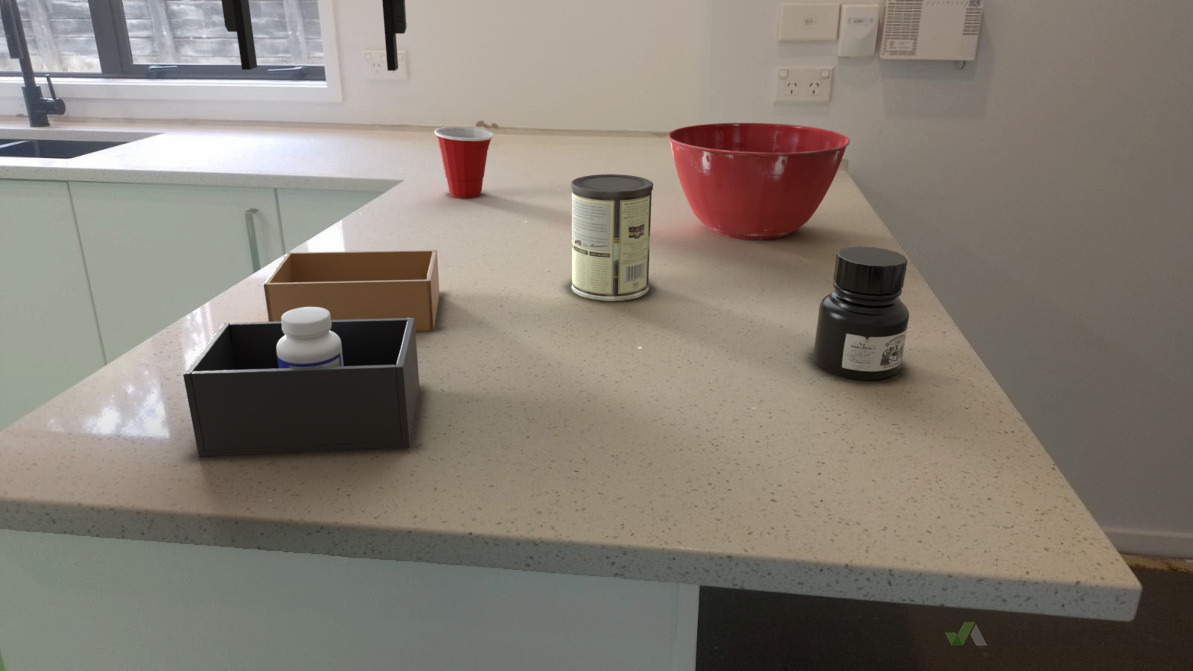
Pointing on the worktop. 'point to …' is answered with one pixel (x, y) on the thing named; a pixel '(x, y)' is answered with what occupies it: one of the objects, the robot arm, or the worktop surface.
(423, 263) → the carton
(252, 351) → the open box
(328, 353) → the pill bottle
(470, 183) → the plastic cup
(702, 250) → the worktop surface
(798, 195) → the mixing bowl
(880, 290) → the ink bottle
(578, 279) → the coffee can
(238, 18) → the robot arm
